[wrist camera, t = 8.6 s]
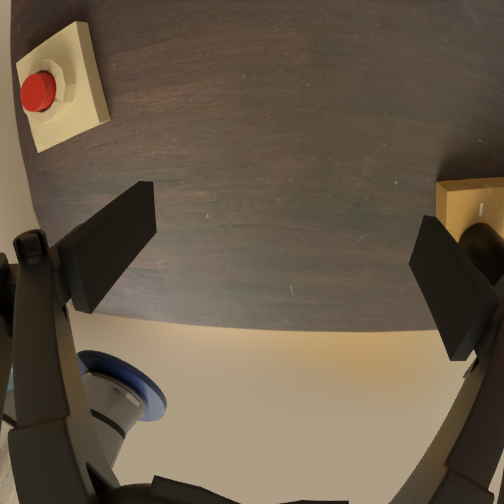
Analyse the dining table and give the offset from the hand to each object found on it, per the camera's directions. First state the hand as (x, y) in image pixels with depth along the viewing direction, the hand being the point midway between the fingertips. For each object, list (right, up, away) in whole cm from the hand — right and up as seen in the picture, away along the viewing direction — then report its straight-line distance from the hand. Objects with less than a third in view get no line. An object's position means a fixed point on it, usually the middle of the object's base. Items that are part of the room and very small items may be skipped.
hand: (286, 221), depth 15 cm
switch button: (-23, +15, +9) cm, 29 cm away
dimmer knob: (+21, -1, +12) cm, 24 cm away
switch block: (-22, +17, +12) cm, 30 cm away
